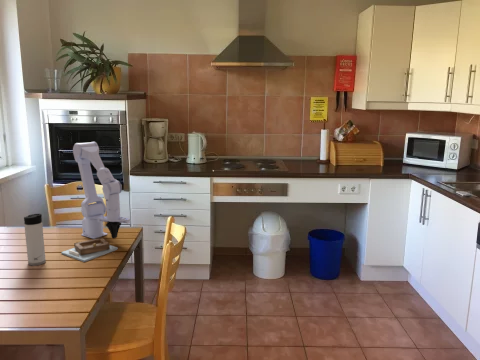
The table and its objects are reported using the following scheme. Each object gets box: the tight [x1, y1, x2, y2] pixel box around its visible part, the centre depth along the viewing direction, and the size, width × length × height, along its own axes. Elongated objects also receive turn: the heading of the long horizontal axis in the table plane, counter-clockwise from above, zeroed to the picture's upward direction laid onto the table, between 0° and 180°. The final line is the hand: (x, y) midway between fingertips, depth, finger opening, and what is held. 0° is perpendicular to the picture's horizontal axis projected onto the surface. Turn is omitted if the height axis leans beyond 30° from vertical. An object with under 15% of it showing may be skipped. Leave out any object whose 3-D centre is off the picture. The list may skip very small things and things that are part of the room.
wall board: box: [61, 244, 119, 263], centre depth 177 cm, size 15×17×2 cm
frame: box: [73, 237, 111, 255], centre depth 177 cm, size 9×12×3 cm
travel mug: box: [23, 213, 47, 267], centre depth 163 cm, size 6×7×20 cm
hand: (114, 237), depth 186 cm, fingers closed
